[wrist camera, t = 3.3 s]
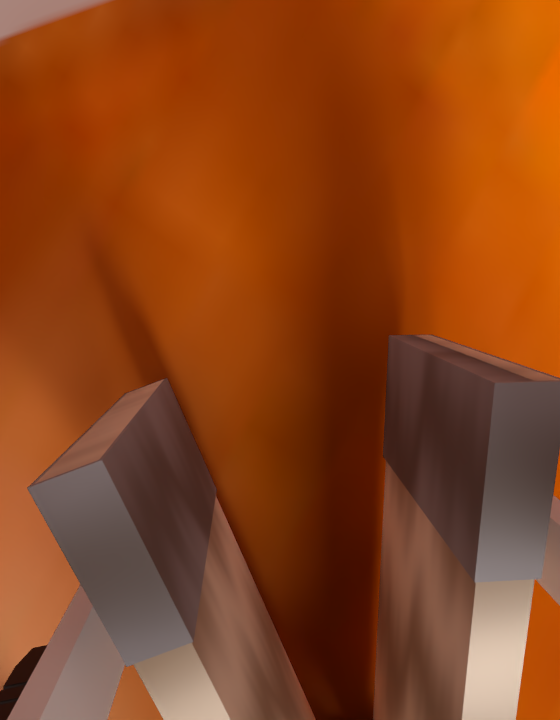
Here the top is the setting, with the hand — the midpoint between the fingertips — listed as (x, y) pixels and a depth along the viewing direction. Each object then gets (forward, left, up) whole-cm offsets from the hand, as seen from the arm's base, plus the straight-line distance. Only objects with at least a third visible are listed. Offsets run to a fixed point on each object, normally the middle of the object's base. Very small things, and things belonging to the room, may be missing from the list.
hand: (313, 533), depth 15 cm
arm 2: (-5, +3, -2) cm, 6 cm away
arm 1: (-5, -3, -2) cm, 6 cm away
